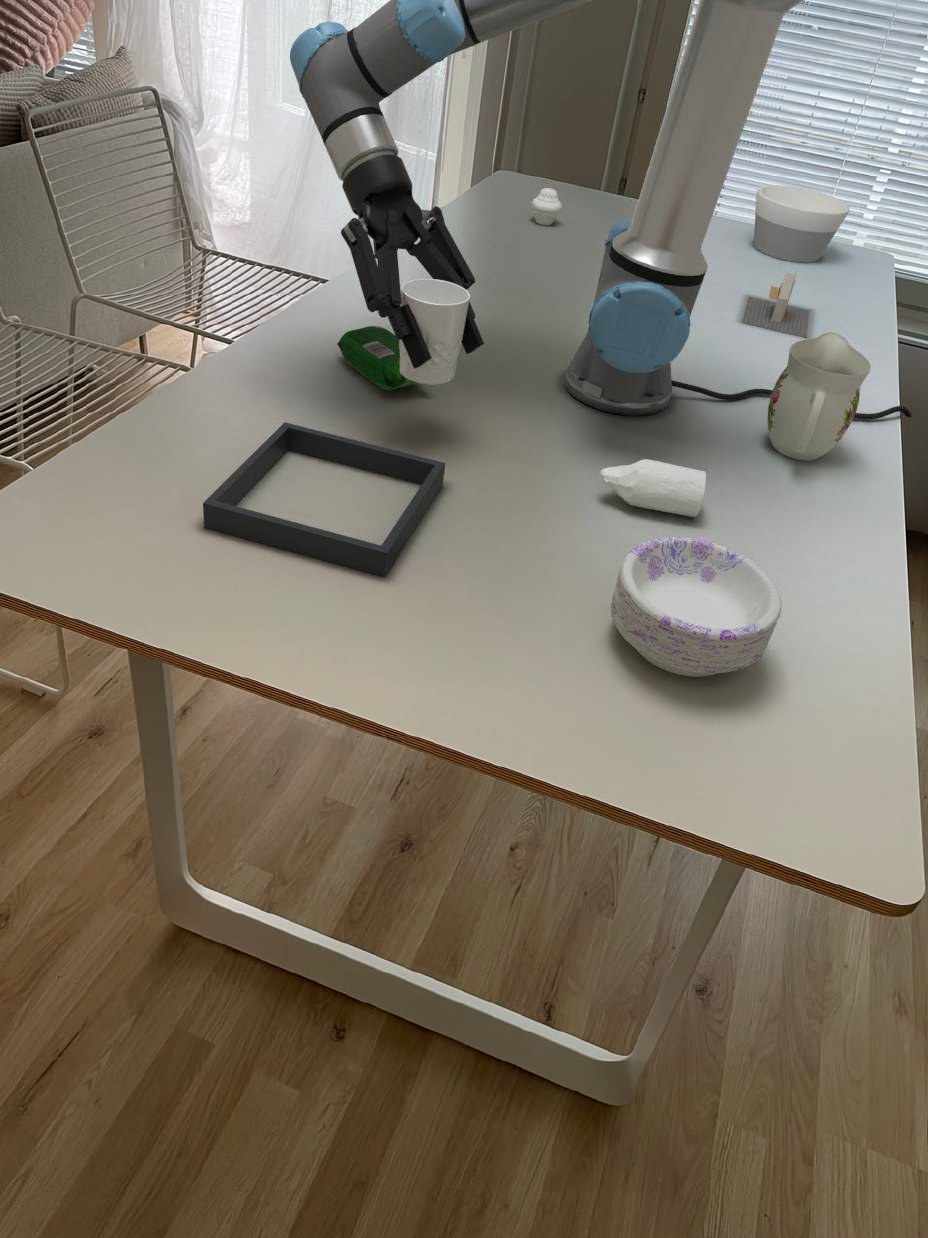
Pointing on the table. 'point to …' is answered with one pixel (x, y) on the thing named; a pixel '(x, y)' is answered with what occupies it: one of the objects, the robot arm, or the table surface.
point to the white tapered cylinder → (658, 486)
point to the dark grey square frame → (313, 540)
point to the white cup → (435, 327)
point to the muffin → (546, 206)
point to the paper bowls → (694, 606)
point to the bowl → (796, 222)
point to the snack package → (374, 356)
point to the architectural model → (778, 310)
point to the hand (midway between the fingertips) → (449, 355)
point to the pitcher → (816, 396)
